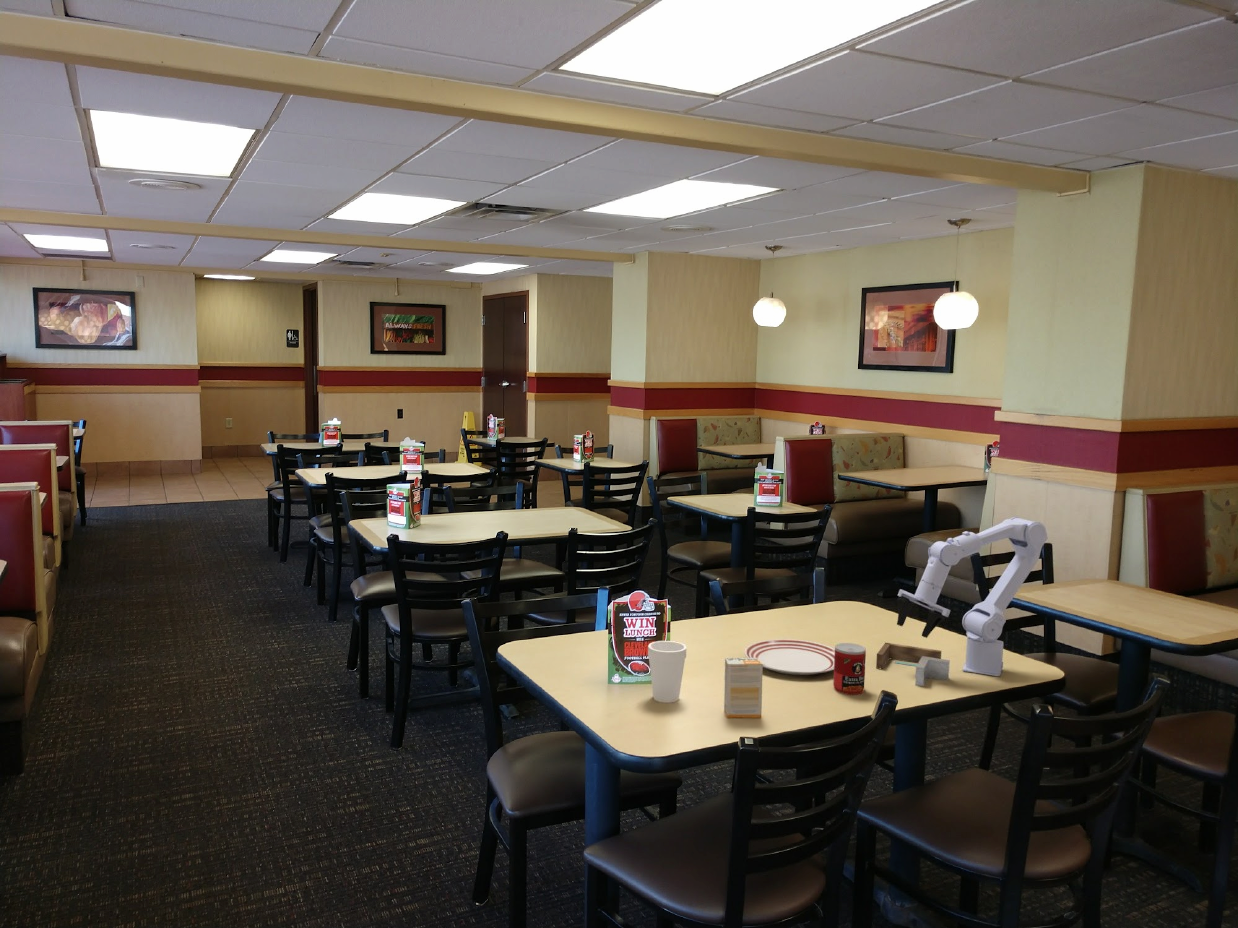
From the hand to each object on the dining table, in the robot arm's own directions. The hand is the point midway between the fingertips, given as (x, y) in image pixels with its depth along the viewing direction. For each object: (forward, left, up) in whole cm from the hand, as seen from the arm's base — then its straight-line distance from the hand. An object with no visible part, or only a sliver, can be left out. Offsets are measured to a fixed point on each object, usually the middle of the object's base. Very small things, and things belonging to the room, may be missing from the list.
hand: (911, 631), depth 239 cm
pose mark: (+1, -6, -12) cm, 13 cm away
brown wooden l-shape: (+1, -7, -12) cm, 14 cm away
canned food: (+12, +20, -12) cm, 26 cm away
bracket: (-6, +3, -12) cm, 14 cm away
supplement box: (+30, +50, -12) cm, 60 cm away
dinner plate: (+30, +7, -12) cm, 33 cm away
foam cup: (+50, +49, -12) cm, 71 cm away
